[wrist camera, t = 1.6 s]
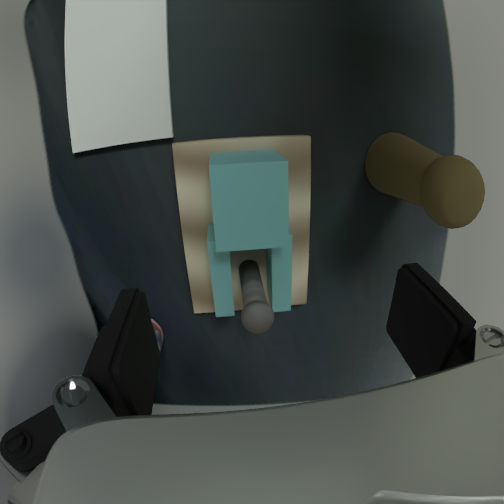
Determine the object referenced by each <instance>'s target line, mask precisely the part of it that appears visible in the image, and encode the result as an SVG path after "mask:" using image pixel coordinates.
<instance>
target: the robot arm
mask: <svg viewBox="0 0 504 504" xmlns="http://www.w3.org/2000/svg"><path fill="white" fill-rule="evenodd" d="M475 323H476V321H475V320H474V318H473V317H472V316H471V315H470V314H469V313H468V312H467V311H466V310H465V309H464V308H463V307H462V306H461V305H460V304H459V303H458V302H457V301H456V300H455V299H454V298H453V297H452V296H451V295H450V294H449V293H448V292H447V291H446V290H445V289H444V288H443V287H442V286H441V285H440V284H439V283H438V282H437V281H436V280H435V279H434V278H433V277H432V276H431V275H430V274H429V273H427V272H426V271H425V270H424V269H423V268H422V267H421V266H420V265H419V264H418V263H411V264H404V265H402V267H401V268H400V269H399V270H398V273H397V278H396V283H395V288H394V293H393V298H392V303H391V307H390V312H389V316H388V321H387V326H386V328H387V332H388V334H389V336H390V337H391V339H392V341H393V342H394V344H395V345H396V347H397V348H398V350H399V351H400V353H401V355H402V356H403V358H404V359H405V361H406V362H407V364H408V366H409V367H410V369H411V370H412V372H413V374H414V375H415V377H416V378H415V379H412V380H408V381H404V382H400V383H397V384H393V385H389V386H384V387H380V388H376V389H372V390H367V391H363V392H358V393H353V394H348V395H343V396H338V397H333V398H328V399H322V400H316V401H310V402H304V403H298V404H290V405H283V406H275V407H267V408H259V409H249V410H238V411H226V412H211V413H194V414H170V415H151V413H152V406H153V400H154V393H155V387H156V380H157V374H158V368H159V362H160V350H159V346H158V343H157V339H156V335H155V332H154V328H153V324H152V321H151V317H150V313H149V309H148V305H147V301H146V297H145V294H144V292H140V291H139V289H138V288H131V289H122V290H121V292H120V295H119V297H118V299H117V301H116V304H115V306H114V308H113V311H112V313H111V315H110V318H109V320H108V322H107V325H106V326H103V327H102V328H101V330H100V332H99V334H98V337H97V339H96V342H95V344H94V347H93V349H92V352H91V354H90V356H89V359H88V361H87V364H86V366H85V369H84V372H83V374H82V376H79V375H77V376H70V377H67V378H65V379H63V380H62V381H60V382H59V383H58V384H57V385H56V386H55V387H54V389H53V391H52V395H51V399H52V403H53V405H51V406H50V407H48V408H46V409H45V410H43V411H41V412H40V413H38V414H36V415H35V416H33V417H31V418H29V419H27V420H26V421H24V422H22V423H21V424H19V425H17V426H15V427H14V428H12V429H11V430H9V431H8V432H7V433H6V434H5V435H4V436H3V437H2V440H1V442H0V452H1V453H0V504H504V331H503V330H501V329H500V328H498V327H495V326H491V325H483V326H481V327H479V328H478V329H477V331H476V330H475V328H474V326H475Z"/></svg>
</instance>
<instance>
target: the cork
mask: <svg viewBox="0 0 504 504" xmlns="http://www.w3.org/2000/svg"><path fill="white" fill-rule="evenodd" d="M365 171H366V174H367V178H368V180H369V181H370V183H371V184H372V186H373V187H374V188H375V189H377V190H378V191H379V192H382V193H385V194H388V195H391V196H394V197H396V198H399V199H402V200H405V201H408V202H411V203H413V204H416V205H419V206H422V207H423V208H424V210H425V212H426V213H427V215H428V216H429V217H430V218H431V219H432V220H433V221H434V222H436V223H437V224H438V225H440V226H444V227H447V228H451V229H453V228H460V227H464V226H466V225H468V224H469V223H471V222H472V221H473V219H475V218H476V216H477V215H478V213H479V211H480V210H481V207H482V204H483V201H484V194H485V188H484V182H483V179H482V176H481V174H480V172H479V170H478V169H477V168H476V166H475V165H474V164H473V163H472V162H470V161H469V160H467V159H465V158H463V157H461V156H458V155H444V156H441V155H439V154H437V153H436V152H434V151H432V150H430V149H429V148H427V147H425V146H423V145H422V144H420V143H418V142H416V141H414V140H412V139H411V138H409V137H407V136H405V135H402V134H400V133H394V132H389V133H386V134H383V135H381V136H379V137H378V138H377V139H376V140H374V141H373V143H372V144H371V146H370V147H369V149H368V152H367V155H366V158H365Z"/></svg>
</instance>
